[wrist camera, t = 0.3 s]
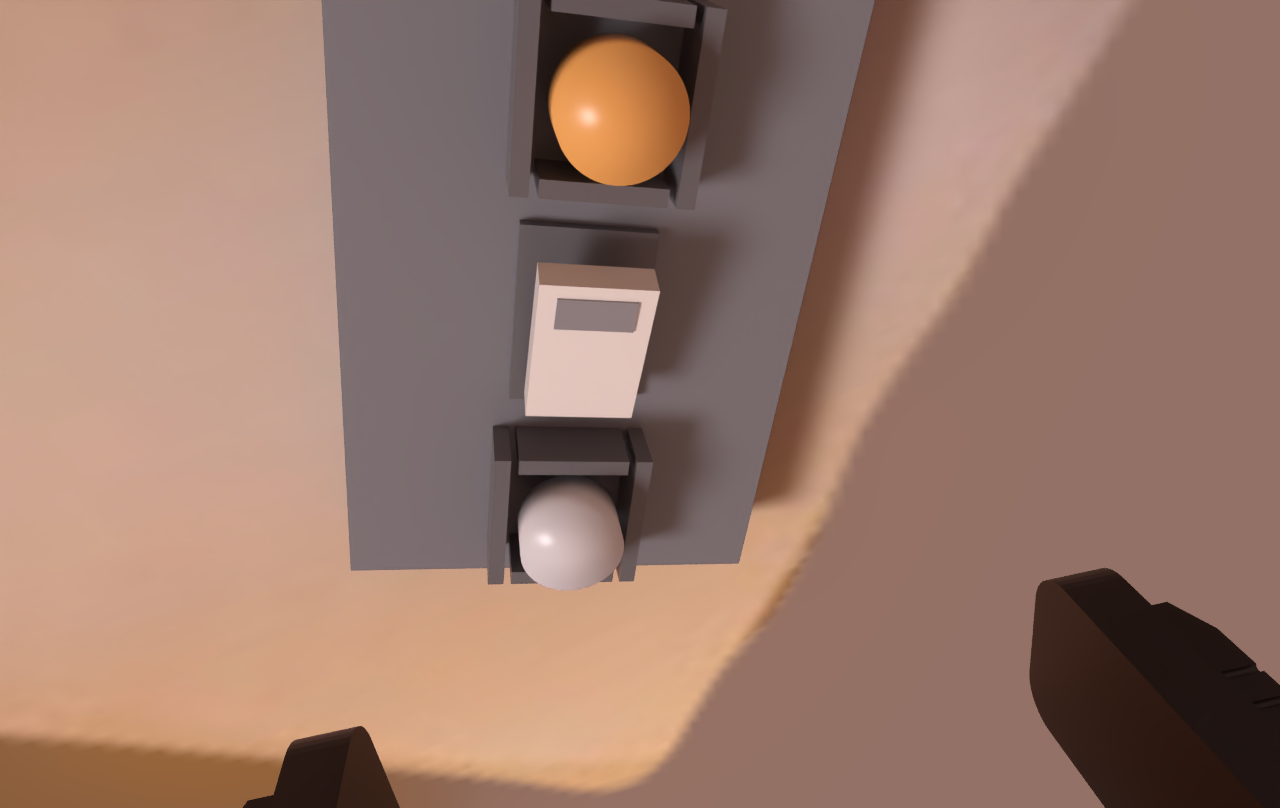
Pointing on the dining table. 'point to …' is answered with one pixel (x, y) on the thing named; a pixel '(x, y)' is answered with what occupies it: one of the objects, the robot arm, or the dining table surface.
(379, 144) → the control panel
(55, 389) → the dining table surface
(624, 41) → the orange button
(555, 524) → the grey button
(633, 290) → the rocker switch
